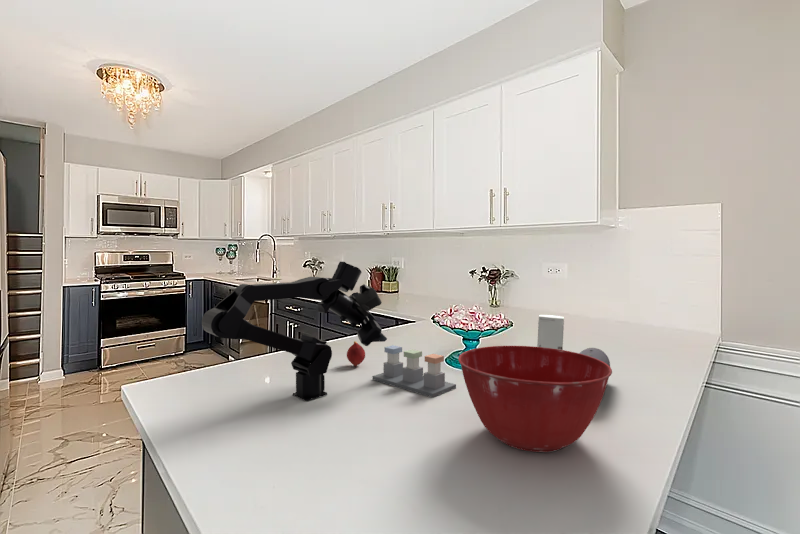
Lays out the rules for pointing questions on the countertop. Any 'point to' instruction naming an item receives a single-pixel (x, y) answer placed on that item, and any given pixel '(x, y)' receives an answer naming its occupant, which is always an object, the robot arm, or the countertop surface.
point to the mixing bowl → (534, 393)
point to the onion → (356, 354)
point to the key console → (414, 380)
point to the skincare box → (550, 331)
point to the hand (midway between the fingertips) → (380, 330)
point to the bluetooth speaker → (596, 354)
